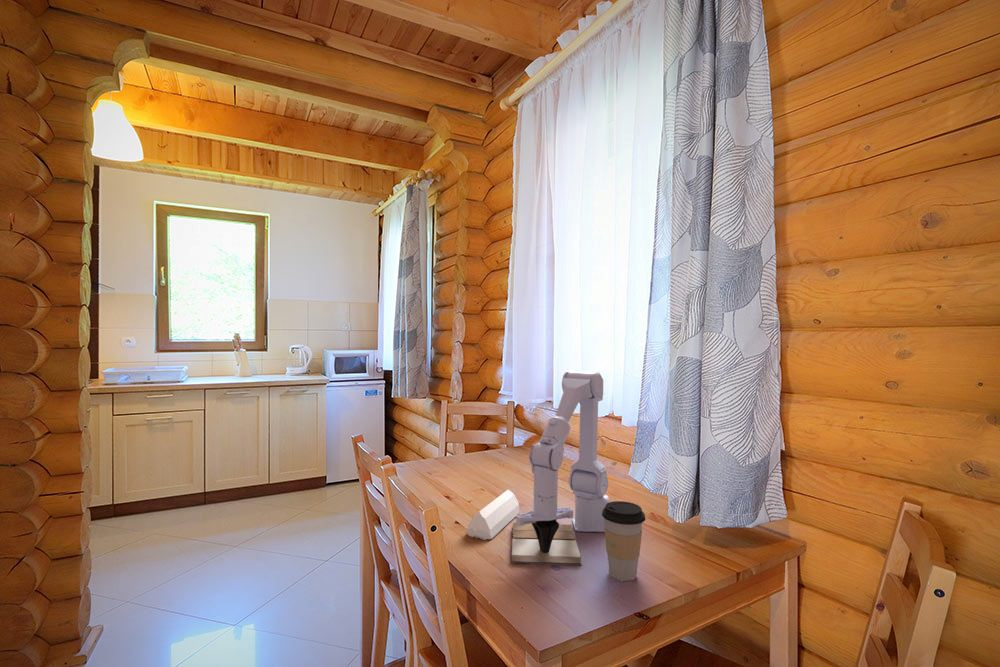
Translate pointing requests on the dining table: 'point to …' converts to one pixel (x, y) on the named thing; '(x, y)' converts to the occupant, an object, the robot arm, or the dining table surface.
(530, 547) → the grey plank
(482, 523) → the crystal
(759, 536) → the dining table surface
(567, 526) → the walnut boards
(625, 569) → the coffee cup
